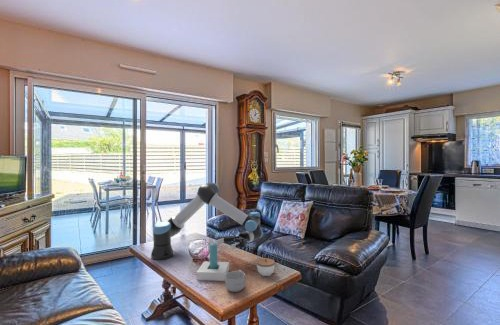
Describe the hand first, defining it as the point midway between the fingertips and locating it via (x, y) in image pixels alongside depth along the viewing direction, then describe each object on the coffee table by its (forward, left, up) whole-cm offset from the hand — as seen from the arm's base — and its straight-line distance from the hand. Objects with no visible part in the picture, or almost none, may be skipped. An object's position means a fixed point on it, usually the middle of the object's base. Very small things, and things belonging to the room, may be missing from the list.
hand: (223, 244), depth 170 cm
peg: (+9, -4, -15) cm, 18 cm away
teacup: (+25, +11, -15) cm, 31 cm away
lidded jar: (+7, +26, -15) cm, 31 cm away
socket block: (+9, -5, -15) cm, 18 cm away
